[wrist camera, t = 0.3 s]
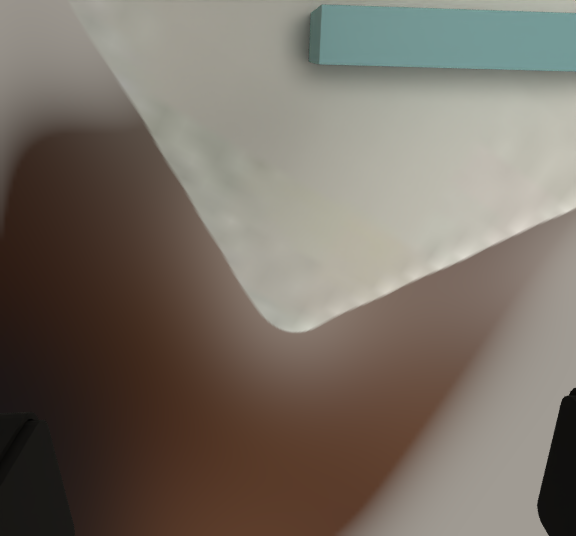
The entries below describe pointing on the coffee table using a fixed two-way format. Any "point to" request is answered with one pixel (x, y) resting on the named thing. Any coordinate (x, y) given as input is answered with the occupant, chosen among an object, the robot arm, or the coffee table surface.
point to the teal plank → (442, 38)
